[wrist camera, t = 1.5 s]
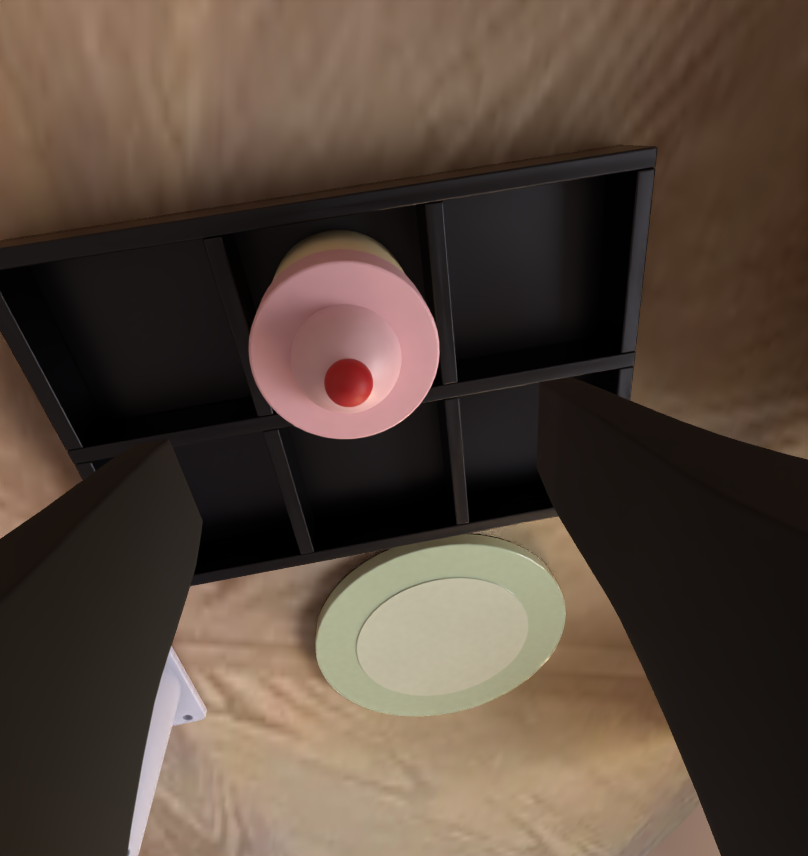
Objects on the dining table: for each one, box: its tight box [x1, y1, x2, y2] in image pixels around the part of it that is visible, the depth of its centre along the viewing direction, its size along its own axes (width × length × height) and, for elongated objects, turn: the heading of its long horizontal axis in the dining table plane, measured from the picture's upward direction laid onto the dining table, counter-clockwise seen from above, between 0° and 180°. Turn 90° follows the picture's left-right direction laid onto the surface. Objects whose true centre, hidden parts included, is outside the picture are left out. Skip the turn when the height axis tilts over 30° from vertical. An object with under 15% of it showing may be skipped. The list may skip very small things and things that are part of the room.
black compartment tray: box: [0, 145, 657, 586], centre depth 20 cm, size 14×21×2 cm
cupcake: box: [248, 229, 440, 439], centre depth 16 cm, size 5×5×8 cm
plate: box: [315, 534, 566, 717], centre depth 29 cm, size 14×14×1 cm
